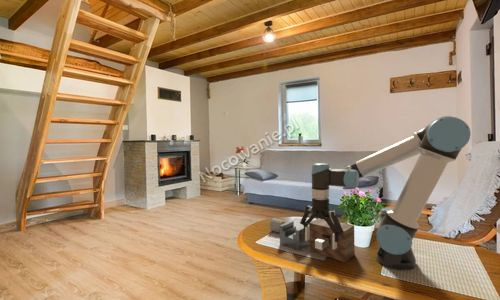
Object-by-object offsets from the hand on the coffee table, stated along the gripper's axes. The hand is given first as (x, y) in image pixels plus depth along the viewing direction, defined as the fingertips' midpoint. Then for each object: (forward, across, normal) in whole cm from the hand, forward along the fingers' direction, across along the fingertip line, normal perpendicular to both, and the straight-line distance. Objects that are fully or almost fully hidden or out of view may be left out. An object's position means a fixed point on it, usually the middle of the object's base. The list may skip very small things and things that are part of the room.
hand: (320, 244), depth 117 cm
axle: (+1, 0, -6) cm, 6 cm away
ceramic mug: (+8, +37, -16) cm, 41 cm away
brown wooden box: (+7, 0, -10) cm, 12 cm away
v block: (+8, +18, -7) cm, 21 cm away
